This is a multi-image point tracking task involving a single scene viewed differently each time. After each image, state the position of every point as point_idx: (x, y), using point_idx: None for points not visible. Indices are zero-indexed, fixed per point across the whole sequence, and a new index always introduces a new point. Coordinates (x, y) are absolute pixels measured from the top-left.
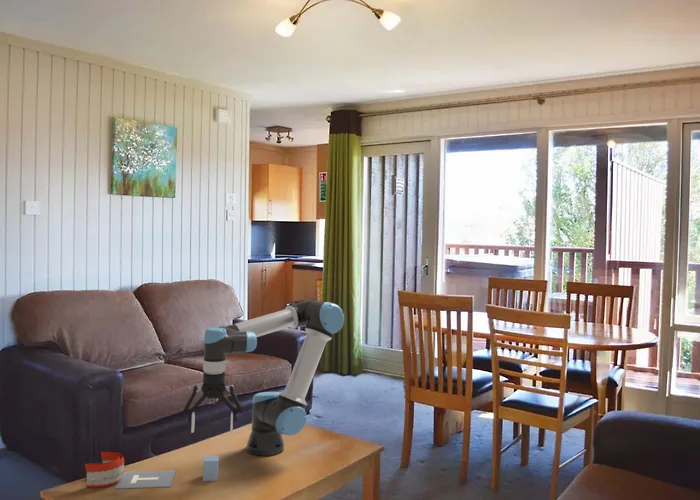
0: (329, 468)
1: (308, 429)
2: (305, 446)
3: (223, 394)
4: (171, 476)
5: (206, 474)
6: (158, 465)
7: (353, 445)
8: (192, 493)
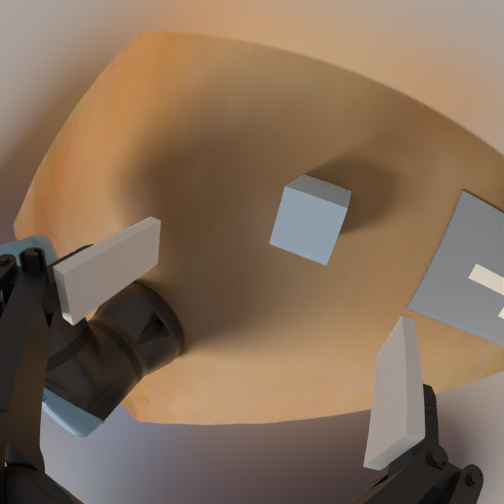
0: (54, 162)
1: None
2: None
3: (10, 464)
4: (436, 267)
5: (338, 191)
6: (427, 360)
7: None
8: (407, 103)
